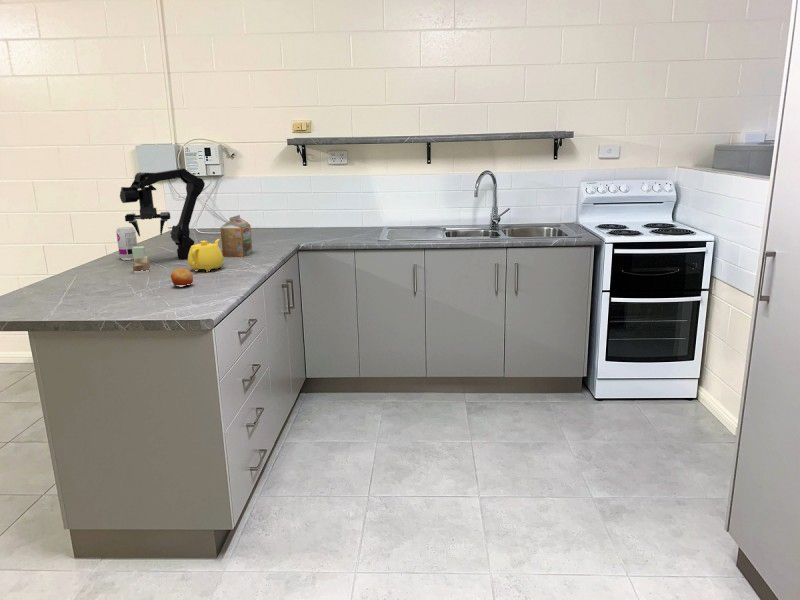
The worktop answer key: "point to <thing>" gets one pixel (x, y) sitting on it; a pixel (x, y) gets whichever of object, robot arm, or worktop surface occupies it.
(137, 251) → the sage cube
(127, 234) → the supplement can
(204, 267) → the teapot
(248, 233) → the milk carton
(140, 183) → the robot arm
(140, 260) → the maple block
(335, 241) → the worktop surface
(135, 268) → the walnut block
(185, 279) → the fruit
